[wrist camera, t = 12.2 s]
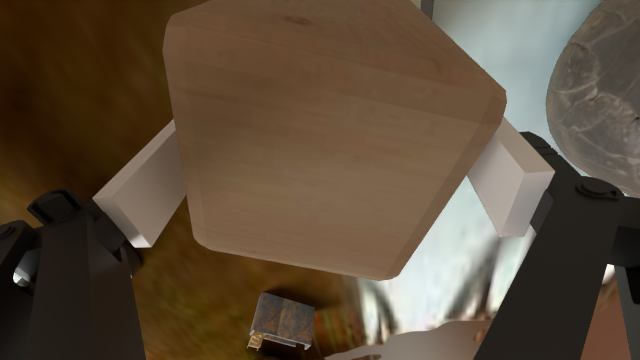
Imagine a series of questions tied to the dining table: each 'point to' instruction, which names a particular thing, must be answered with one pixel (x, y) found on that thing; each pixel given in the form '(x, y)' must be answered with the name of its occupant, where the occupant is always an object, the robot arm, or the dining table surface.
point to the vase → (268, 358)
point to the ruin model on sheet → (282, 321)
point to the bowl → (600, 96)
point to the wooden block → (323, 128)
